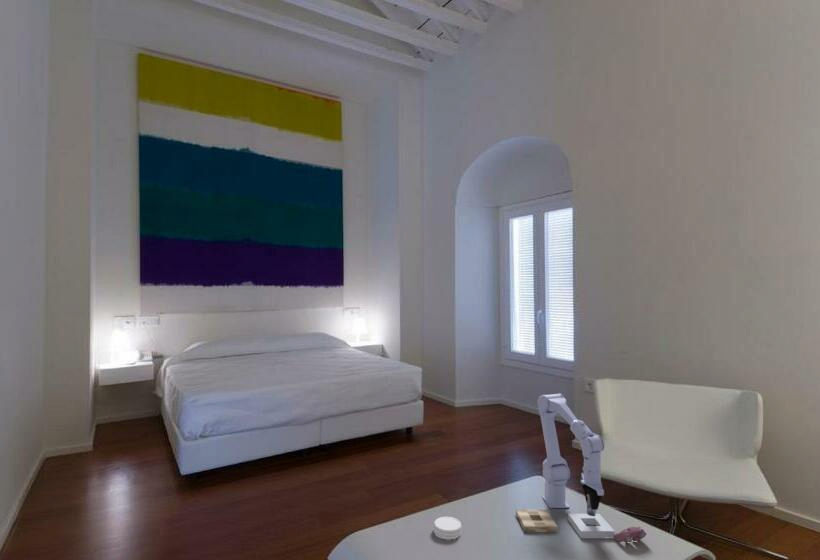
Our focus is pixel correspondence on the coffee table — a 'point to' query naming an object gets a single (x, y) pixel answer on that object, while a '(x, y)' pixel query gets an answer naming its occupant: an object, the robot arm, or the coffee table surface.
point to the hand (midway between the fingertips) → (592, 506)
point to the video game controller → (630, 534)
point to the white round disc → (447, 528)
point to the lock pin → (589, 510)
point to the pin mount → (536, 526)
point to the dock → (585, 531)
